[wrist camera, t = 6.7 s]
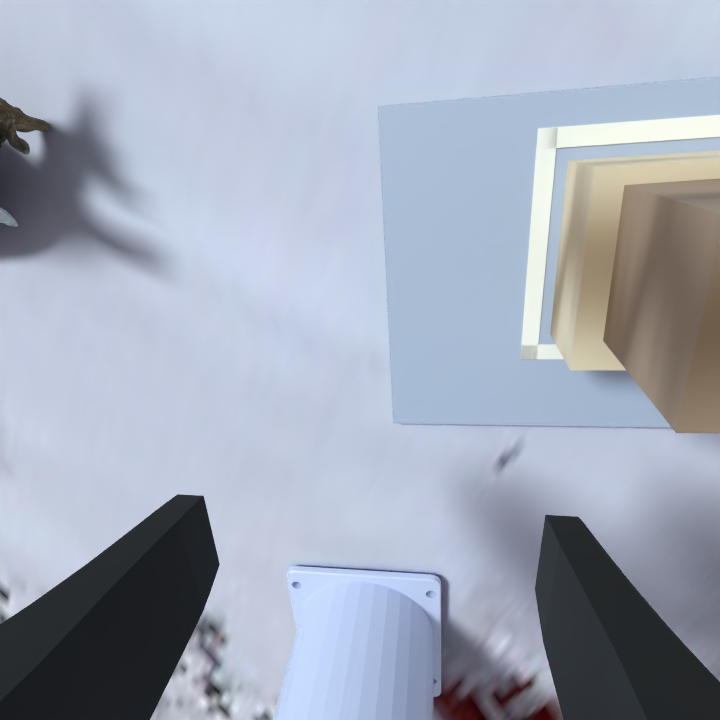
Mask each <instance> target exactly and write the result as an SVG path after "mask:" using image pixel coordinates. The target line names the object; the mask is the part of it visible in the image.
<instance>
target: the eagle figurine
mask: <svg viewBox="0 0 720 720" xmlns="http://www.w3.org/2000/svg"><path fill="white" fill-rule="evenodd" d="M16 130H17V131H19V132H30V131H34V130H39V131H48V130H49V125H48V124H47V123H46V122H45V121H43V120H40V119H37V118H33V117H30V116H28V115H25V114H24V113H23V112H22V111H21V110H20V109H19V108H17V107H13V106H11V105H10V104H8V103H7V102H6V101H5V100H3V99H1V98H0V148H1V147H2V144H3V143H4V141H5V140H6V139H7V140H8V141H9V143H10V145H11V146H12V147H13V148H15V149H16V150H18V151H20V152H22V153H24V154H29V153H30V148H29V145H28V143H27V142H26V141H25V140H23V139H21V138H19V137H18V135H17V134H16ZM0 223H5V224H7V225H10V226H16V227H17V226H18V224H17V222H16V220H15V219H14V218H13V217H12V216H11V215H10V214H9V213H8V212H6V211H5V210H4V209H2V208H1V207H0Z"/></svg>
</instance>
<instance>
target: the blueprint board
mask: <svg viewBox="0 0 720 720" xmlns="http://www.w3.org/2000/svg"><path fill="white" fill-rule="evenodd" d="M378 119H379V139H380V160H381V180H382V200H383V221H384V241H385V262H386V282H387V303H388V323H389V343H390V364H391V384H392V405H393V423H396V424H463V425H530V426H597V427H664V428H672V427H671V426H670V425H669V423H668V422H667V421H666V419H665V418H664V417H663V416H662V414H661V413H660V412H659V411H658V409H657V408H656V407H655V406H654V404H653V403H652V402H651V401H650V399H649V398H648V397H647V396H646V394H645V393H644V392H643V391H642V389H641V388H640V387H639V385H638V384H637V383H636V382H635V380H634V379H633V378H632V377H631V375H630V374H629V373H628V372H627V370H570V369H569V367H568V365H567V364H566V362H565V360H564V358H563V356H562V355H561V353H560V351H559V349H558V347H557V346H556V344H555V342H554V340H553V339H552V337H551V335H550V331H551V321H552V312H553V302H554V292H555V282H556V272H557V262H558V253H559V243H560V233H561V223H562V213H563V203H564V194H565V184H566V174H567V164H568V161H569V160H584V159H599V158H614V157H630V156H645V155H660V154H675V153H690V152H706V151H720V77H712V78H700V79H689V80H677V81H666V82H654V83H643V84H631V85H619V86H608V87H596V88H585V89H573V90H562V91H550V92H539V93H527V94H516V95H504V96H492V97H481V98H469V99H458V100H446V101H435V102H423V103H412V104H400V105H389V106H378Z"/></svg>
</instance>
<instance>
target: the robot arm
mask: <svg viewBox="0 0 720 720" xmlns="http://www.w3.org/2000/svg"><path fill="white" fill-rule="evenodd" d="M218 567H219V560H218V556H217V551H216V547H215V543H214V539H213V534H212V530H211V526H210V522H209V517H208V513H207V509H206V505H205V500H204V496H195V495H176V496H175V497H174V498H172V499H171V500H169V501H168V502H167V503H165V504H164V505H163V506H161V507H160V508H159V509H157V510H156V511H155V512H154V513H152V514H151V515H150V516H148V517H147V518H146V519H145V520H143V521H142V522H141V523H140V524H138V525H137V526H136V527H134V528H133V529H132V530H131V531H129V532H128V533H127V534H125V535H124V536H123V537H122V538H120V539H119V540H118V541H116V542H115V543H114V544H112V545H111V546H110V547H109V548H107V549H106V550H105V551H103V552H102V553H101V554H99V555H98V556H97V557H96V558H94V559H93V560H92V561H90V562H89V563H88V564H86V565H85V566H84V567H82V568H81V569H79V570H78V571H77V572H75V573H74V574H72V575H71V576H70V577H68V578H67V579H65V580H64V581H63V582H61V583H60V584H58V585H57V586H56V587H54V588H53V589H51V590H50V591H49V592H47V593H46V594H44V595H43V596H42V597H40V598H39V599H38V600H36V601H35V602H33V603H32V604H30V605H29V606H27V607H26V608H24V609H23V610H21V611H20V612H18V613H17V614H15V615H14V616H12V617H11V618H9V619H8V620H6V621H5V622H3V623H2V624H0V720H150V718H151V716H152V714H153V712H154V710H155V708H156V706H157V704H158V702H159V700H160V698H161V696H162V694H163V692H164V690H165V688H166V686H167V684H168V682H169V680H170V678H171V676H172V674H173V672H174V670H175V668H176V666H177V664H178V662H179V660H180V658H181V656H182V654H183V652H184V650H185V648H186V645H187V643H188V641H189V639H190V637H191V635H192V633H193V631H194V629H195V627H196V625H197V623H198V621H199V619H200V616H201V614H202V612H203V610H204V607H205V605H206V602H207V599H208V596H209V594H210V591H211V588H212V585H213V582H214V579H215V576H216V573H217V570H218ZM287 582H288V588H289V593H290V598H291V604H292V609H293V614H294V620H295V625H296V630H297V633H296V636H295V640H294V643H293V647H292V651H291V654H290V658H289V662H288V665H287V669H286V673H285V676H284V680H283V684H282V687H281V691H280V695H279V698H278V702H277V706H276V709H275V713H274V717H273V720H433V697H437V696H439V695H440V694H441V580H440V579H439V578H438V577H437V576H435V575H431V574H416V573H400V572H384V571H368V570H352V569H336V568H320V567H304V566H292V567H290V568H289V570H288V572H287ZM535 591H536V598H537V605H538V611H539V618H540V624H541V630H542V637H543V643H544V646H545V650H546V654H547V658H548V662H549V666H550V670H551V673H552V677H553V681H554V685H555V689H556V692H557V696H558V700H559V704H560V707H561V711H562V715H563V719H564V720H720V682H719V681H718V680H717V679H716V678H715V677H714V675H713V674H712V673H711V672H710V671H709V670H708V669H707V668H706V667H705V666H704V665H703V664H702V663H701V662H700V661H699V660H698V659H697V657H696V656H695V655H694V654H693V653H692V652H691V651H690V650H689V649H688V648H687V647H686V646H685V645H684V644H683V642H682V641H681V640H680V639H679V638H678V637H677V636H676V635H675V634H674V632H673V631H672V630H671V629H670V628H669V627H668V626H667V625H666V623H665V622H664V621H663V620H662V619H661V618H660V616H659V615H658V614H657V613H656V612H655V611H654V609H653V608H652V607H651V606H650V605H649V604H648V603H647V601H646V600H645V599H644V598H643V597H642V596H641V594H640V593H639V592H638V591H637V590H636V588H635V587H634V586H633V585H632V584H631V582H630V581H629V580H628V579H627V578H626V576H625V575H624V574H623V573H622V571H621V570H620V569H619V568H618V566H617V565H616V564H615V563H614V561H613V560H612V559H611V558H610V556H609V555H608V554H607V552H606V551H605V550H604V549H603V547H602V546H601V545H600V543H599V542H598V541H597V540H596V538H595V537H594V536H593V534H592V533H591V532H590V530H589V529H588V528H587V527H586V525H585V524H584V523H583V521H582V520H581V519H580V518H579V517H571V516H553V515H546V516H545V523H544V530H543V537H542V544H541V551H540V558H539V565H538V572H537V579H536V586H535Z"/></svg>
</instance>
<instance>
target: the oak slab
mask: <svg viewBox="0 0 720 720" xmlns="http://www.w3.org/2000/svg"><path fill="white" fill-rule="evenodd" d="M719 178H720V151H706V152H690V153H675V154H660V155H645V156H630V157H614V158H599V159H584V160H569V161H568V164H567V174H566V184H565V194H564V203H563V213H562V223H561V233H560V243H559V253H558V262H557V272H556V282H555V292H554V302H553V312H552V321H551V331H550V335H551V337H552V339H553V340H554V342H555V344H556V346H557V347H558V349H559V351H560V353H561V355H562V356H563V358H564V360H565V362H566V364H567V365H568V367H569V369H570V370H626V369H625V368H624V367H623V365H622V364H621V363H620V362H619V360H618V359H617V358H616V357H615V355H614V354H613V353H612V351H611V350H610V349H609V348H608V346H607V345H606V344H605V343H604V341H603V337H604V330H605V323H606V316H607V308H608V301H609V294H610V287H611V279H612V272H613V265H614V257H615V250H616V243H617V236H618V228H619V221H620V214H621V206H622V199H623V192H624V185H633V184H648V183H662V182H676V181H691V180H705V179H719Z"/></svg>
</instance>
